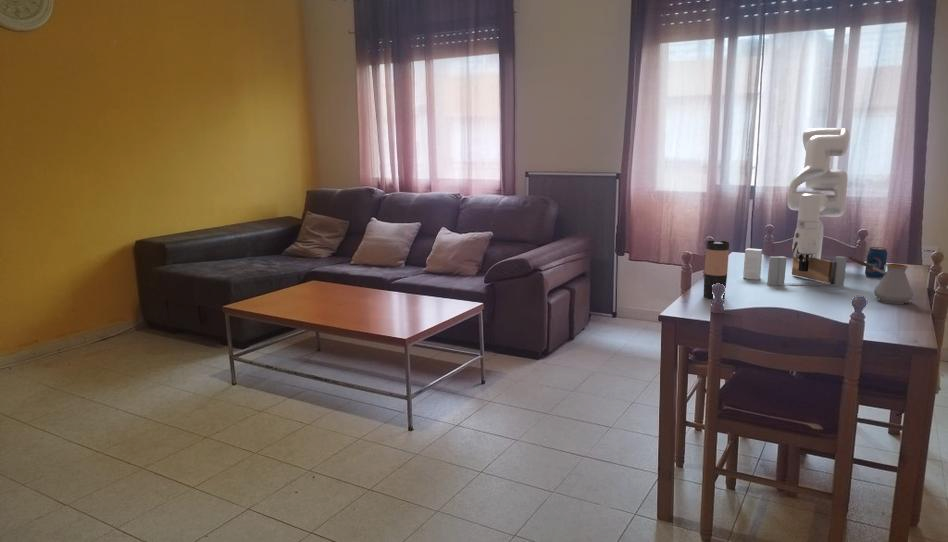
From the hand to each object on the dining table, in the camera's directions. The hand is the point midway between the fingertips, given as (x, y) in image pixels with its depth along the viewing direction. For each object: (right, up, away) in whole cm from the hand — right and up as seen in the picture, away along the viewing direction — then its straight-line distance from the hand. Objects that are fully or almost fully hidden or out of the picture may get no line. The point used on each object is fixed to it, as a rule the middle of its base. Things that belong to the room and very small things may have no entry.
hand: (803, 270), depth 257 cm
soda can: (+33, -3, +7) cm, 34 cm away
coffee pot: (+10, -10, -31) cm, 34 cm away
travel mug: (-45, -10, -26) cm, 53 cm away
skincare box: (-18, -3, +5) cm, 19 cm away
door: (+4, -3, +1) cm, 5 cm away
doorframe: (-3, -5, -7) cm, 9 cm away
